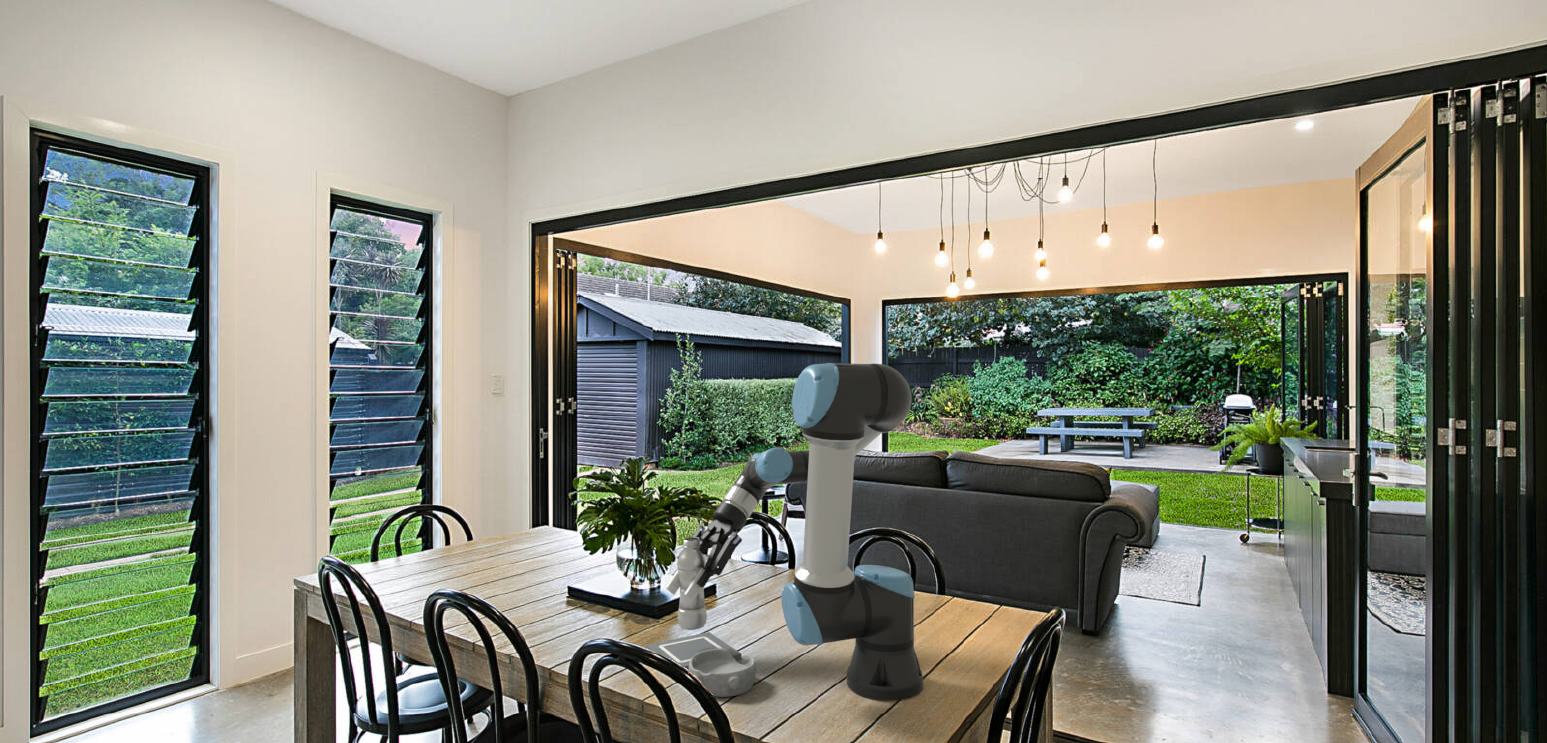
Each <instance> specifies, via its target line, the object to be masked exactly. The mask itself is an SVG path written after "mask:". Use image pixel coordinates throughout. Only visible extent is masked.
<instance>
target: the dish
mask: <svg viewBox="0 0 1547 743" xmlns="http://www.w3.org/2000/svg"><path fill="white" fill-rule="evenodd" d="M756 664H757V663H756V660H755V658H753V657H751V658H750V659H749V661H748V662H747V663H746V664H742V663H739V662H738V660H735V659H734V658H733V656H732V655H731V654H730V652H729V650H728V649H710V650H706V651H702V652H700V653H697V654H695V655H694V657H692V658H691V660H690V662H689V671H688V673H689V672H691V673H692V674H693V675H695V676H696V677H697V678H698V679H699V680H700V681H701V683H702V684H703V685H704V686H705V687H706V688H707V689H708V690H709V691H710V692H711V693H712V694H713V695H714V696H713V697H716V698H717V697H719V698H723V697H725V698H727V697H734V696H735V697H736V696H739V695H742V694H745V693H747V692H748V691H750V690H751V689H752V688H753V686H754V683H755V679H756V672H757V671H756V670H757V668H756V667H757V666H756Z"/></svg>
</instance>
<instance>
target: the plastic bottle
mask: <svg viewBox="0 0 1547 743" xmlns="http://www.w3.org/2000/svg"><path fill="white" fill-rule="evenodd" d="M699 547H700V539H699V538H696V537H693V536H691V537H690V536H689V537H685V538H683V544H682V548H683V549H684V551H683V552H682V554H681V555H680V557H679V559H677V561H676V565H677V566H676V567H677V568H678V575H679V582H680V587H679V603H678V604H679V606H678V610H677V611H678V612H677V622H678V625H679V626H680V628H681V629H683V630H685V631H686V630H688V631H694V630H695V631H696V630H700V629H703V627H704V626H705V625H706V623H707V619H708V613H707V609H706V608H707V607H706V602H705V591H704V590H705V586H704V587H703V588H702V589H701V590H700V592H699V593H698V595H697V596H696V598H695V600H694V601H693V602H692V601H690V600H689V599H688V598H687V597H686V596H685V595H684V593H685V592H686V590H687V589H688V587H689V586H690V584H691V583H692V581H693V580H694V578H695V577H696V575H697V573H698V572H699V570H700V569H703V568H702V566H705V565H706V562H707V560H706V558H705V556H704V553H703V554H702V553H701V552H700V550H699ZM677 568H676V569H677ZM703 570H704V569H703ZM704 571H705V570H704Z"/></svg>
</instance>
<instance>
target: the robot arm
mask: <svg viewBox="0 0 1547 743" xmlns="http://www.w3.org/2000/svg"><path fill="white" fill-rule="evenodd" d="M911 406H912V392H911V388H910V386H909V384H908V381H907V380H906V378H905V377H904V375H902V374H901V373H900V372H899V371H898V370H897V369H895V368H893V367H891V366H889V365H886V364H883V363H840V362H839V363H838V362H837V363H834V362H826V363H816V364H811V365H807V367H805V368H804V369H803V370H802V371H801V373H800V374H799V375H798V377H797V379H796V381H795V384H794V388H793V392H792V399H791V410H792V411H793V412H792V416H793V420H794V423H796V425H798V427H801V428H802V429H801V430H802V431H801V432H802V435H803V437H804V438H805V439H806V440H807V441H808V442H809V449H807V450H788V451H786V450H785V449H784V448H780V447H771V448H769V449H767V450H765V451H763V452H756V453H754V454H753V456H752V457H751V458H750V459H748V461H747V462H746V465H745V467H744V468H743V470H742V471H741V473H740V474H739V476H738V477H737V479H736V480H735V481H734V483H733V485H732V486H731V487H730V488H729V490H728V491H727V493H726V494H725V496H724V497H723V498H722V502H720V504H718V506H717V508H716V509H715V511H714V512H713V514H712V515H713V520H712V521H711V522H710V523H709V524H708V525H706V526H705V525H703V524H702V523H701V524H699V525H698V526H697V528H696V531H695V532H694V534H693V535H692V537H696V538H699V539H700V547H699V550H700V552H701V553H702V554H703V555H704V554H705V553H706V551H707V550H709V549H710V552H709V554H708V558H707V560H706V565H705V566H702V568H703V569H704V570H705V571H704V570H703V569H700V570H699V572H698V573H697V575H696V577H695V578H694V580H693V581H692V583H691V584H690V586H689V587H688V589H687V590H686V592H685V593H684V595H685V596H686V597H687V598H688V599H689V600H690V601H692V602H693V601H694V600H695V598H696V596H697V595H698V593H699V592H700V590H701V589H702V588H703V587H704V588H705V587H706V585H707V583H708V582H709V580H710V579H711V577H713V576H720V575H721V574H722V572H723V571H724V569H725V567H726V566H727V564H728V562H729V560H730V559H731V557H732V555H733V554H734V552H735V550H736V548H737V547H738V546H739V545H740V544H741V543H742V541H743V539H742V537H741V536H740V535H739V533H740V532H741V531H742V529H743V528H744V526H745V525H746V523H747V522H748V519H749V518H750V517H751V516H752V513H753V512H754V511H755V509H756V507H757V506H758V505H759V503H760V501H761V499H762V498H763V497H764V495H765V494H766V492H767V491H768V490H769V489H771V488H772V487H774V486H777V485H789V484H803V483H804V484H805V483H807V485H806V487H807V488H806V499H805V500H806V502H805V517H804V521H805V522H804V537H803V538H804V539H803V553H802V556H803V557H802V563H800V564H799V565H798V566H796V567H795V569H794V573H793V582H788V583H786V584H785V585H783V588H782V590H781V606H782V608H781V609H782V613H783V616H784V617H783V618H784V621H785V623H786V627H787V629H788V632H790V635H791V636H792V638H793V639H794V641H796V642H797V643H798V644H800V646H801V645H802V646H811V645H813V646H814V645H818V646H822V645H823V644H828V643H829V644H830V643H835V642H841V641H848V640H854V639H855V642H854V644H855V645H854V647H853V648H854V649H853V652H852V655H851V659H850V664H849V666H848V668H847V670H846V685H847V687H848V689H850V690H851V691H852V692H853V693H855V694H856V695H859V696H862V697H865V698H868V699H873V700H877V701H878V700H879V701H901V700H902V701H904V700H907V699H911V698H913V697H916V696H918V695H920V694H921V693H922V691H923V690H924V675H923V671H922V670H921V665H920V662H919V658H918V655H917V652H916V649H915V624H914V623H915V622H914V621H915V606H914V605H915V604H914V603H915V602H914V601H915V597H916V596H915V591H914V590H915V589H914V588H915V587H914V580H913V578H912V577H911V575H910V574H909V573H907V572H905V571H903V570H901V569H897V568H895V567H890V566H886V565H885V566H884V565H879V564H878V565H877V564H876V565H875V564H861V565H857V566H856V567H855V568H854V571H853V570H851V568H850V567H849V565H848V561H849V547H850V546H849V545H850V530H851V516H852V503H853V502H852V501H853V500H852V499H853V485H854V472H855V468H854V467H855V457H856V456H857V455H859V453H860V452H862V451H863V450H864V449H865V448H866V447H867V446H869V445H870V444H871V443H872V442H873V441H875V439H876V438H878V437H879V436H880V435H881V434H883V433H884V434H886V433H890V432H892V431H894V430H895V429H896V428H897V427H898V426H900V425H901V424H902V422H904V420H905V419H906V418H907V416H908V414H909V412H910V410H911ZM683 551H684V548H683V549H682V550H681V551H680V552H679V554H678V556H676V558H677V560H678V559H679V557H680V555H681V554H682V552H683ZM664 588H665V589H666V590H667V591H668V592H669V593H670V594H671V595H673V596H675V595H676V593H677V592H678V590H680V582H679V575H678V568H676V570H675V571H674V572H673V574H672V577H671V578H670V580H669V581H668V582H667V585H666V586H665V587H664Z"/></svg>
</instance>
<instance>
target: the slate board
mask: <svg viewBox="0 0 1547 743" xmlns="http://www.w3.org/2000/svg"><path fill="white" fill-rule="evenodd" d="M646 648H648V649H650V650H652V651H654V652H656V653H660V654H661V655H663V656H665V657H667V658H670V659H671V660H673V661H675V662H676V663H678V664H680V665H681V666H682V667H685V668H687V669H688V670H689V662H690V660H691V658H692V657H694V655H695V654H697V653H700V652H702V651H706V650H710V649H728V650H729V652H730V654H731V655H732V656H733V658H734V659H735V660H736V661H738V660H742V653H741V652H740V651H738V650H737V649H735V648H734V647H732V646H730V645H729V644H728V643H726V642H725V641H723V640H722V639H720V638H719V637H717V636H716V635H714V634H713V633H711V632H704V633H703V632H702V633H698V634H693V635H689V636H683V637H678V638H674V639H669V640H668V639H667V640H664V641H658V642H654V643H650V644H646V645H645V649H646Z"/></svg>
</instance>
